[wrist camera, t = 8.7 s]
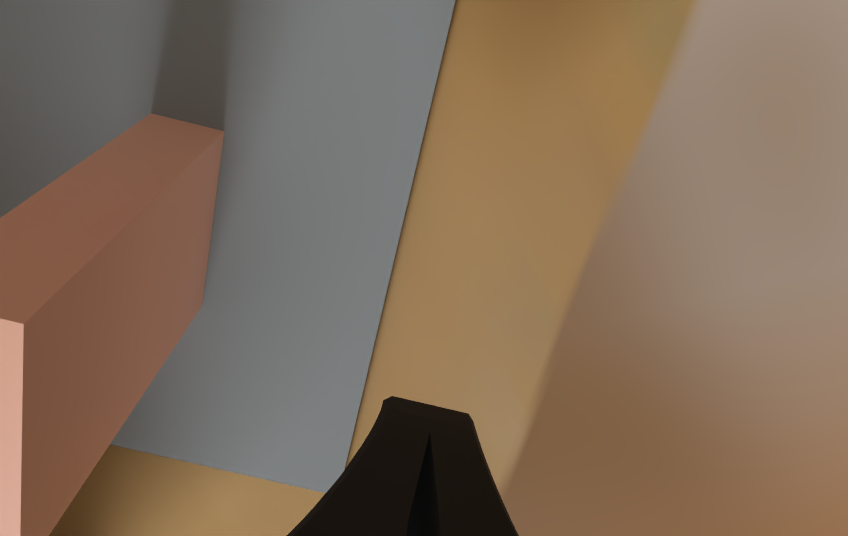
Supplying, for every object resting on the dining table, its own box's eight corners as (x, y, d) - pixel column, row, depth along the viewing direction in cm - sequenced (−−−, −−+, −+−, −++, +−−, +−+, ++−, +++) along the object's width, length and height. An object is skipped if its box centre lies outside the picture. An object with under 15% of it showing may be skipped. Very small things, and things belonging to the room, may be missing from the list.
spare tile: (202, 305, 19) (19, 579, 12) (135, 290, 19) (-91, 555, 12) (223, 130, 17) (23, 324, 10) (151, 113, 17) (-108, 292, 10)
